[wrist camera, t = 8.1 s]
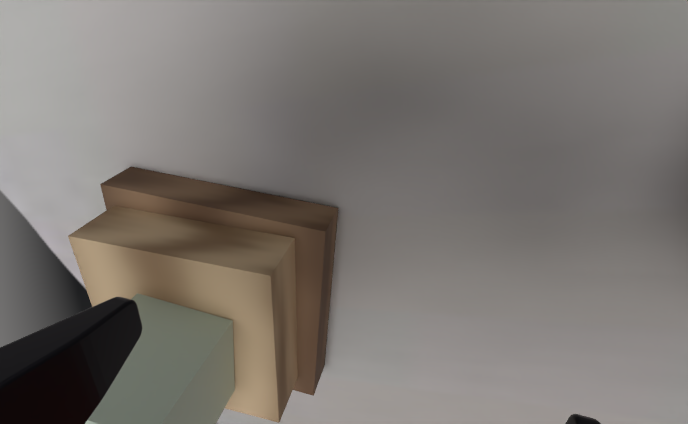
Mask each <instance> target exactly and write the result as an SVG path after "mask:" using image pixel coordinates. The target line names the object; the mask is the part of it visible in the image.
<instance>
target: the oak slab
mask: <svg viewBox="0 0 688 424" xmlns="http://www.w3.org/2000/svg"><path fill="white" fill-rule="evenodd" d="M68 237H69V240H70V243H71V246H72V249H73V252H74V255H75V257H76V260H77V263H78V266H79V269H80V272H81V275H82V278H83V281H84V284H85V287H86V289H87V292H88V295H89V298H90V301H91V304H92V307H93V306H96V305H98V304H100V303H102V302H105V301H107V300H109V299H111V298H114V297H123V298H127V299H132V298H133V297H134V296H135V295H136V294H137V293H138V294H142V295H145V296H149V297H152V298H156V299H159V300H163V301H166V302H170V303H173V304H177V305H180V306H184V307H187V308H191V309H194V310H197V311H201V312H204V313H208V314H211V315H215V316H218V317H222V318H225V319H229V320H232V321H233V345H234V380H235V391H234V392H233V394H232V396H231V398H230V399H229V401H228V403H227V405H226V406H225V408H226V409H230V410H234V411H237V412H241V413H245V414H249V415H252V416H256V417H260V418H264V419H268V420H271V421H275V422H280V419H281V417H282V414H283V412H284V409H285V407H286V405H287V402H288V400H289V397H290V395H291V392H292V390H293V388H294V385H295V383H296V380H297V378H298V367H297V320H296V273H295V238H292V237H286V236H280V235H275V234H269V233H263V232H258V231H252V230H247V229H241V228H235V227H230V226H224V225H218V224H213V223H207V222H202V221H196V220H190V219H185V218H179V217H174V216H168V215H162V214H157V213H151V212H145V211H140V210H134V209H128V208H123V207H117V206H113V207H111V208H110V209H108V210H107V211H105V212H104V213H102V214H101V215H99V216H98V217H96V218H95V219H93V220H92V221H90V222H89V223H87V224H86V225H84V226H83V227H81V228H80V229H78V230H77V231H75V232H74V233H72V234H70V235H69V236H68Z"/></svg>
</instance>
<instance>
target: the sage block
mask: <svg viewBox="0 0 688 424" xmlns="http://www.w3.org/2000/svg"><path fill="white" fill-rule="evenodd" d="M131 300H134V301H135V302H136V303H137V306H138V310H139V314H140V318H141V322H142V333H141V336H140V338H139V340H138V341H137V343H136V345H135V346H134V348H133V350H132V351H131V353H130V355H129V356H128V358H127V360H126V361H125V363H124V365H123V366H122V368H121V370H120V371H119V373H118V375H117V376H116V378H115V380H114V381H113V383H112V385H111V386H110V388H109V390H108V391H107V393H106V394H105V396H104V397H103V399H102V400H101V402H100V403H99V405H98V406H97V408H96V409H95V410H94V412H93V413H92V415H91V416H90V417H89V419H88V420H87V421H86V423H85V424H216V422H217V420H218V419H219V417H220V415H221V413H222V412H223V410H224V408H225V406H226V405H227V403H228V401H229V399H230V398H231V396H232V394H233V392H234V391H235V380H234V345H233V321H232V320H229V319H225V318H222V317H218V316H215V315H211V314H208V313H204V312H201V311H197V310H194V309H191V308H187V307H184V306H180V305H177V304H173V303H170V302H166V301H163V300H159V299H156V298H152V297H149V296H145V295H142V294H138V293H137V294H136V295H135V296H134V297H133V298H132V299H131Z"/></svg>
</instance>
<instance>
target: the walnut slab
mask: <svg viewBox="0 0 688 424" xmlns="http://www.w3.org/2000/svg"><path fill="white" fill-rule="evenodd" d="M101 189H102V193H103V197H104V201H105V205H106V209H107V210H108V209H110V208H111V207H113V206H117V207H123V208H128V209H134V210H140V211H145V212H151V213H157V214H162V215H168V216H174V217H179V218H185V219H190V220H196V221H202V222H207V223H213V224H218V225H224V226H230V227H235V228H241V229H247V230H252V231H258V232H263V233H269V234H275V235H280V236H286V237H292V238H295V273H296V320H297V367H298V378H297V380H296V383H295V385H294V388H293V390H296V391H299V392H303V393H306V394H310V395H314V393H315V390H316V387H317V385H318V382H319V379H320V376H321V373H322V371H323V368H324V365H325V354H326V342H327V331H328V320H329V308H330V297H331V285H332V274H333V263H334V251H335V240H336V228H337V217H338V208H335V207H330V206H325V205H320V204H315V203H310V202H305V201H300V200H295V199H290V198H285V197H280V196H275V195H270V194H265V193H260V192H255V191H250V190H245V189H240V188H235V187H230V186H225V185H220V184H215V183H210V182H205V181H200V180H195V179H190V178H185V177H180V176H175V175H170V174H165V173H160V172H155V171H150V170H145V169H140V168H135V167H130V168H128V169H126V170H124V171H123V172H121V173H119V174H117V175H116V176H114V177H112V178H111V179H109V180H107V181H105V182H104V183H102V184H101Z"/></svg>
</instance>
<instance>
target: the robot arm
mask: <svg viewBox="0 0 688 424" xmlns="http://www.w3.org/2000/svg"><path fill="white" fill-rule="evenodd" d="M141 333H142V322H141V318H140V314H139V310H138V306H137V303H136V302H135V301H134V300H131V299H127V298H123V297H114V298H111V299H109V300H107V301H105V302H102V303H100V304H98V305H96V306H93V307H91V308H89V309H86V310H84V311H82V312H80V313H77V314H75V315H73V316H71V317H68V318H66V319H64V320H62V321H59V322H57V323H55V324H53V325H51V326H48V327H46V328H44V329H41V330H39V331H37V332H35V333H32V334H30V335H28V336H25V337H23V338H21V339H19V340H17V341H14V342H12V343H10V344H7V345H5V346H3V347H1V348H0V424H85V423H86V421H87V420H88V419H89V417H90V416H91V415H92V413H93V412H94V410H95V409H96V408H97V406H98V405H99V403H100V402H101V400H102V399H103V397H104V396H105V394H106V393H107V391H108V390H109V388H110V386H111V385H112V383H113V381H114V380H115V378H116V376H117V375H118V373H119V371H120V370H121V368H122V366H123V365H124V363H125V361H126V360H127V358H128V356H129V355H130V353H131V351H132V350H133V348H134V346H135V345H136V343H137V341H138V340H139V338H140V336H141ZM566 424H601V423H600V422H598V421H597V420H596V419H593V418H590V417H586V416H582V415H578V414H573V415H571V416H570V417H569V419H568V420H567V422H566Z"/></svg>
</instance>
